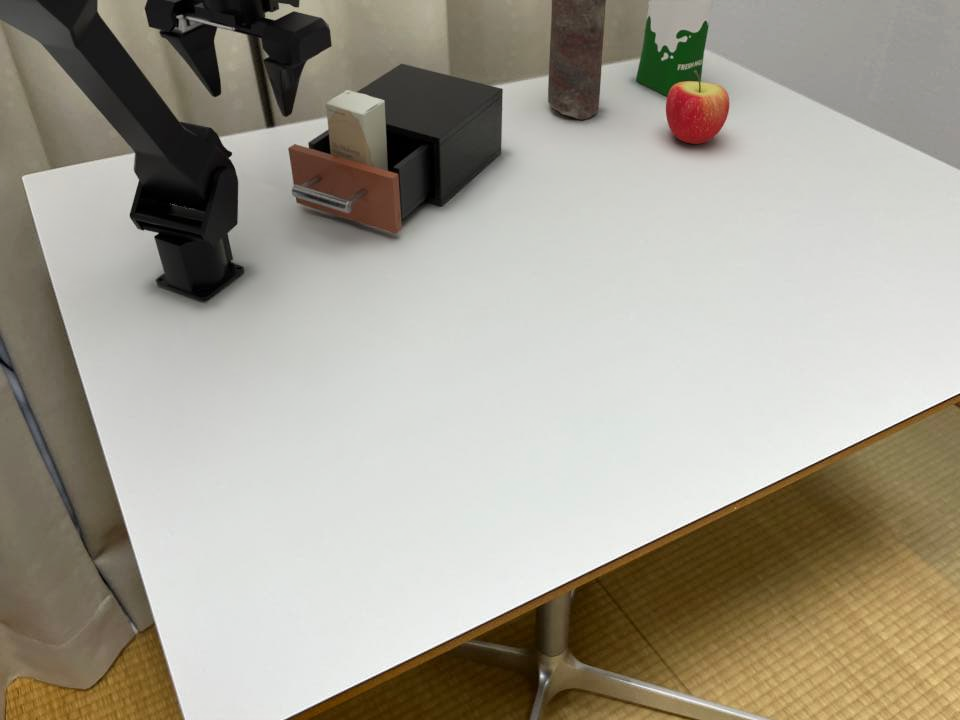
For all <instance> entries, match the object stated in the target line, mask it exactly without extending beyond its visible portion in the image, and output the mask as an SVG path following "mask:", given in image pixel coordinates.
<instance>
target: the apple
mask: <svg viewBox="0 0 960 720" xmlns="http://www.w3.org/2000/svg"><path fill="white" fill-rule="evenodd" d="M694 72H695V74H696V75H697V77H698V80H699V82H696V81H685V82H679V83H677V84H675V85H673V86H672V88H671V89H670V91H669V93H668V96H666V101H665V116H666V121H667V125H668V127H669V129H670V131H671V133H672V134H673V136H674V137H675V138H676V139H678V140H679V141H681V142H683V143H687V144H691V145H699V144H703V143H707V142H709V141H710V140H712V139H713V138H714V137H716V136H717V135H718V133H720V131H721V130H722V128H723V127H724V125H725V123H726V121H727V119H728V115H729V112H730V96H729V93H728V91H727V90H726V89H725V87H723V86H722V85H719V84H717V83H714V82H713V83H712V82H707V81H706V82H705V81H701V82H700V78H699V75H698V73H697V71H696V70H695V71H694Z"/></svg>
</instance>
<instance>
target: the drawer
mask: <svg viewBox="0 0 960 720" xmlns="http://www.w3.org/2000/svg"><path fill="white" fill-rule="evenodd" d="M386 140H387V161H388V171H386V170H383V169H379V168H376V167H372V166H369V165H365V164H362V163H359V162H355V161H352V160H348V159H345V158H341V157H338V156H334V155H331V151H330V141H329V130H328V129H326V130H325V131H324V132H322V133H320V134H318V135H317V136H316V137H314V138H313V139H311V140H309V141H308V143H307V145H308V147H306V146H303V145H299V144H296V143H294V144H292V145H291V146H289V147H288V148H287V150H288V156H289V157H288V158H289V162H290V169H291V175H292V176H291V177H292V181H293V186H292V187H291V195H292V196H293V198H295V202H296V203H297V204H298V205H302V206H305V207H309V208H312V209H316V210H318V211H322V212H324V213H328V214H330V215H334V216H338V217H341V218H344V219H347V220H350V221H353V222H357V223H360V224H363V225H366V226H369V227H373V228H375V229H379V230H381V231H385V232H388V233H392V234H396V235H397V234H398V233H399V232H401V231H402V230H403V228H402V227H403V226H402V225H403V224H402V220H404V218H406V217H407V216H408V215H409V214H410V213H411V212H412V211H414V210H415V209H416V208H417V207H418V206H420V205H421V204H422V203H423V202H424V200H425V199H426V198H427V197H428V196H430V195H431V194H432V193H433V192H434V191H435V177H434V147H433V143H429V142H426V141H422V140H418V139H415V138H411V137H408V136H404V135H400V134H397V133H393V132H389V131H386Z"/></svg>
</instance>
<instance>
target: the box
mask: <svg viewBox="0 0 960 720" xmlns="http://www.w3.org/2000/svg"><path fill="white" fill-rule="evenodd" d="M325 109H326V118H327V119H326V120H327V130H329V141H330V151H331V155H334V156H338V157H341V158H345V159H348V160H352V161H355V162H359V163H362V164H365V165H369V166H372V167H376V168H379V169H383V170H386V171H388V161H387V140H386V121H385V101H384V100H382V99H378V98H375V97H371V96H369V95H366V94H361V93H357V91H353V90H351V89H346V90H345V91H342V92H341V93H340V94H338V95H336V96H335V97H333V98H331V99H330V100H328V101H326V103H325Z"/></svg>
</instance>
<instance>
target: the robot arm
mask: <svg viewBox="0 0 960 720" xmlns="http://www.w3.org/2000/svg"><path fill="white" fill-rule="evenodd" d="M300 3H301V2H300V0H146V3H145V6H144V12H145V17H146V21H147V25H148V28H152V29H155V30H159V32H158V33H159V36H160V37H161V38H162V39H165V40H166V41H167V42H168V43H169V44H170V45H171V46H172V47H173V49H174V50H175V51H176V52H177V53H178V55H179V56H180V57H181V58H182V59H183V61H184V62H185V63H186V64H187V65H188V67H189V68H190V69H191V70H192V72H193V73H194V74H195V76H196V77H197V78H198V80H199V81H200V82H201V84H202V85H203V86H204V88H205V89H206V91H207V92H208V93H209V94H210V96H211V97H213V98H217V97H219V96H222V95H221V94H222V82H221V81H222V80H221V74H220V67H219V63H218V56H217V50H216V44H215V39H216V34H217V31H218V28H219V29H223V30H226V31H231V32H235V33H238V34H243V35H246V36H250V37H254V38H259V39H261V40H260V41H261V47H262V50H263V51H264V52H265V54H266V55H267V57H266V58H264V59H262V63H263V65H264V68H265V72H266V74H267V77H268V80H269V83H270V86H271V89H272V92H273V95H274V98H275V102H276V104H277V107H278V109H279V112H280V113H281V116H282V117H284V118H288V117H289V116H291V115H292V114H293V110H294V106H295V101H296V97H297V92H298V89H299V84H300V80H301V76H302V74H303V70H304V68H305V66H306V63H307V62H308V61H309V60H311V59H312V58H314V57H316V56H319V54H321V53H322V52H324V51H326V50H328V49H329V48H332V47H333V46H332V45H333V44H332V37H331V29H330V25H329V24H328V22H327V21H325V20H324V19H323V17H320V16H316V15H311V14H308V13H302V12H299V11H291V12H289V13H287V14H285V15H283V16H281V17H278V18H277V19H271V18H267V17H266V14H267V13H274V12H277V11H278V10H280V4H282V5H283V4H284V5H290V6H291V7H293V8H300ZM98 5H99V1H98V0H0V21H2V22H4V23H5V24H7V25H9V26H11V27H13V28H14V29H16V30H18V31H20V32H21V33H23V34H25V35H27V36H29V37H30V38H32V39H34V40H35V41H37V42H38V43H39V44H40V45H41V46H42V47H43V48H44V49H45V50H46V51H47V52H48V54H49V55H50V56H51V57H52V58H53V59H54V61H55V62H56V63H57V64H58V65H59V66H60V68H61V69H62V70H63V71H64V72H65V74H67V75H68V76H69V78H70V79H71V80H72V81H73V83H74V84H75V85H76V86H77V87H78V88H79V89H80V90H81V92H82V93H83V94H84V95H85V96H86V97H87V99H88V100H89V101H90V102H91V103H92V104H93V106H94V107H95V108H96V109H97V110H98V111H99V113H100V114H101V115H102V116H103V117H104V118H105V119H106V121H107V122H108V123H109V124H110V125H111V126H112V128H114V130H115V131H116V132H117V133H118V134H119V135H120V137H121V138H122V139H123V140H124V141H125V143H126V144H127V145H128V146H129V147H130V149H131V150H132V151H133V152H134V161H133V172H134V174H135V176H136V177H137V179H138V181H137V182H138V183H137V186H136V190H135V194H134V196H133V200H132V204H131V208H130V212H129V219H130V220H131V221H132V223H133V224H134V226H135V228H137V230H139V231H147V232H152V233H156V234H155V235H154V236H153V239H154V241H155V245H156V248H157V252H158V255H159V259H160V262H161V267H162V269H163V270H162V271H163V273H162V275H161V274H160V276H158V277H157V278H156V279H155V283H156V285H157V286H158V287H162V288H164V289H166V290H169V291H172V292H175V293H178V294H180V295H184V296H187V297H189V298H191V299H194V300H197V301H200V302H206V301H207V302H208V301H209V300H210V299H211V298H213V297H214V296H215V295H216V294H218V293H219V292H221V290H223V289H224V288H226V287H227V286H229V284H231V283H232V282H234V281H235V280H236V279H238V278H239V277H240V276H241V275H243V274H244V273H245V271H246V270H245V266H243V265H241V264H238V263H236V262H235V263H234V262H232V261H234V257H233V252H232V249H231V248H232V247H231V244H230V239H229V234H228V233H230V232H231V231H232V230H233V229H234V228H235V227H236V226H237V225H238V223H239V178H238V175H237V174H238V173H237V170H236V167H235V165H234V163H233V161H232V160H231V157H232V156H233V152H232V151H231V150H228V149H227V148H226V147H225V146H224V144H223V143H222V142H223V141H222V140H221V138H220V137H219V135H218V133H217V132H216V131H215V130H214V129H213V128H212V127H209V126H205V125H199V124H194V123H189V122H185V121H179V119H178V118H177V116H176V115H175V114H174V112H173V110H171V109H170V107H169V105H168V104H167V103H166V101H164V100H163V98H162V96H161V95H160V93H158V91H157V90H156V89H155V87H154V86H153V84H152V83H151V81H149V79H148V78H147V77H146V75H145V73H143V71H142V69H141V68H140V67H139V66H138V64H137V62H135V61H134V59H133V57H132V56H131V55H130V54H129V52H128V51H127V50H126V48H125V47H124V46H123V44H122V43H121V42H120V40H119V39H118V38H117V36H116V35H115V34H114V32H113V31H112V30H111V28H110V27H109V26H108V25H107V23H106V21H105V20H104V19H103V18H102V17H101V15H100V13H99V11H98Z"/></svg>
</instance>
